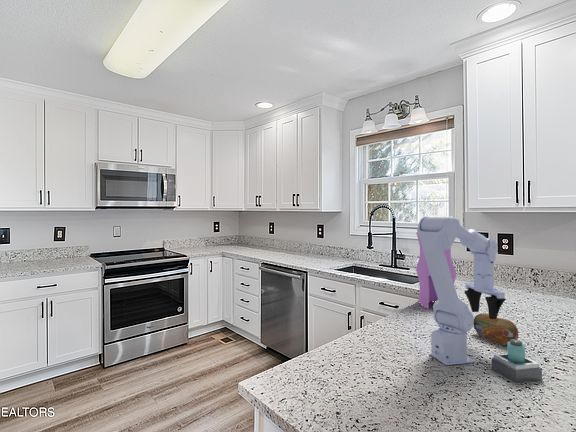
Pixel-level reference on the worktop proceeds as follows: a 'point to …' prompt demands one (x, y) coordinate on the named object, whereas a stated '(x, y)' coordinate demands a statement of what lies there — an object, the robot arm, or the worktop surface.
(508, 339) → the tin
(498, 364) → the grey flat square block
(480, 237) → the robot arm
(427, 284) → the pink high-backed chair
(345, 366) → the worktop surface
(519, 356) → the teal capped cylinder
